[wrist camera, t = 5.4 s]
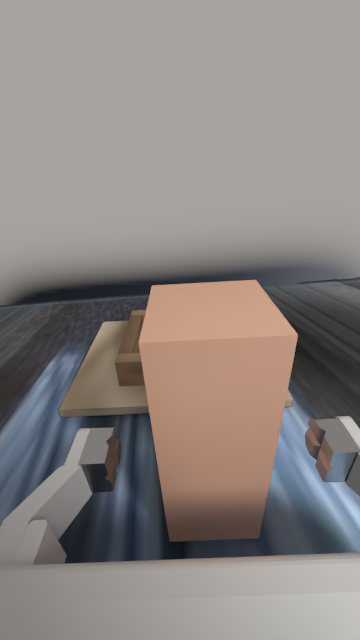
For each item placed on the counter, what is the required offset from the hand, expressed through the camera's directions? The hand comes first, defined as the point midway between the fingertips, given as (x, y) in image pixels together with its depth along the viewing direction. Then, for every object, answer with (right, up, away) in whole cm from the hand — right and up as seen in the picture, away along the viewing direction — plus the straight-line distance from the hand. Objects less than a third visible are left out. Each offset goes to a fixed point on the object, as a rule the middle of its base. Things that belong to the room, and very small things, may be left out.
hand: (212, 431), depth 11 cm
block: (0, -5, +4) cm, 7 cm away
